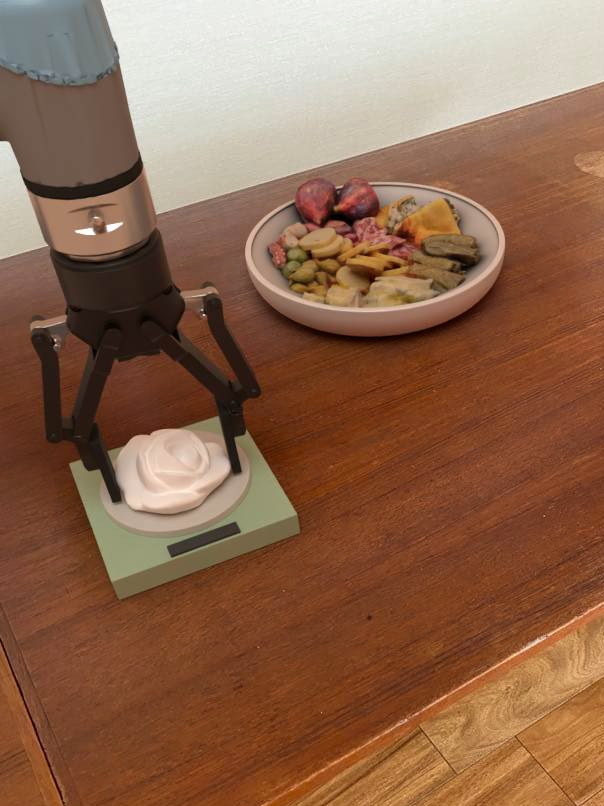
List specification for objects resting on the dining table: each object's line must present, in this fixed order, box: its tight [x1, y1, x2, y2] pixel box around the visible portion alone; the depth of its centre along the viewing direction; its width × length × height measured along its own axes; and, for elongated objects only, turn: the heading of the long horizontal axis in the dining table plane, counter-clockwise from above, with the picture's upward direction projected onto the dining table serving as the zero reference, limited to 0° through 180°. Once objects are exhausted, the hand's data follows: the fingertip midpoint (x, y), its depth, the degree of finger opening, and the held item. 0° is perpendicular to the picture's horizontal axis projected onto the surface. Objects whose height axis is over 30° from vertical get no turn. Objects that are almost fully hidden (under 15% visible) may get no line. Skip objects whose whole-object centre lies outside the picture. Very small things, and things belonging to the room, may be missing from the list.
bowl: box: [244, 177, 506, 337], centre depth 101 cm, size 30×30×8 cm
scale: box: [68, 415, 301, 601], centre depth 77 cm, size 16×16×3 cm
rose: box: [115, 428, 231, 514], centre depth 74 cm, size 10×4×10 cm
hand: (175, 477), depth 75 cm, fingers closed on rose, 10 cm apart
